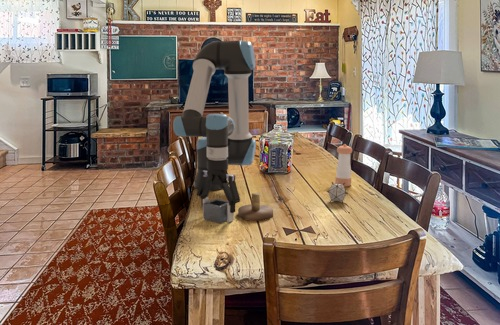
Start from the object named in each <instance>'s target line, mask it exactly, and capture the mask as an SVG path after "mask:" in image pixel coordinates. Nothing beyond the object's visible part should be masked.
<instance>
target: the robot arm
mask: <svg viewBox="0 0 500 325" xmlns="http://www.w3.org/2000/svg"><path fill="white" fill-rule="evenodd" d="M255 68H256V56H255V50H254V47H253V44H252V43H251V42H250V41H248V40H215V41H214V40H213V41H212V42H209V43H207V44H206V45H203V47H202V48H201V49H200V50H199V51H198V52H197V54H196V56H195V57H194V60H193V62H192V70H193V73H192V76H191V80H190V84H189V88H188V92H187V95H186V99H185V104H184V108H183V111H182V114H181V115H179V116H178V115H177V116H175V117H174V119H173V124H172V128H173V132H174V134H175V136H178V137H184V138H185V137H186V138H188V137H192V138H193V137H194V138H195V137H197V138H198V139H197V142H196V160H197V162H196V163H197V164H196V166H197V167H196V168H197V169H196V174H195V177H194V181H193V187H194V189H196V190H197V191H196V196H197V197H199V198H200V199H201V201H200V202H201V207H202V208H203V204H204V203H206V202H209V201H210V198H209V194H210V192H211V191H217V190H222V191H223V193H224V195H225V197H226V199H227V201H228V202H229V204H227V215H228V220H227V223H230V222H233V221H234V220H235V216H234V215H235V212H236V205H237V203H240V202H241V199H240V194H239V190H238V186H237V182H236V175H235V174H229V173H228V169H229V166H241V167H243V166H251V165H252V164H253V162H254V159H255V154H256V148H257V140H256V139H253V134H252V133H251V132H250V127H249V125H250V124H249V123H250V122H249V119H250V117H249V116H250V115H249V77H250V76H251V75H252V71H253V70H255ZM216 70H223V72H224V74H223V75H224V76H226V77H227V84H228V85H227V87H228V89H227V91H228V115H227V114H225V113H209V114H207V115H206V116H203V115H204V110H205V106H206V102H207V98H208V94H209V89H210V84H211V80H212V77H213V75H214V74H215V73H216ZM202 217H204V210H203V209H202Z"/></svg>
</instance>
